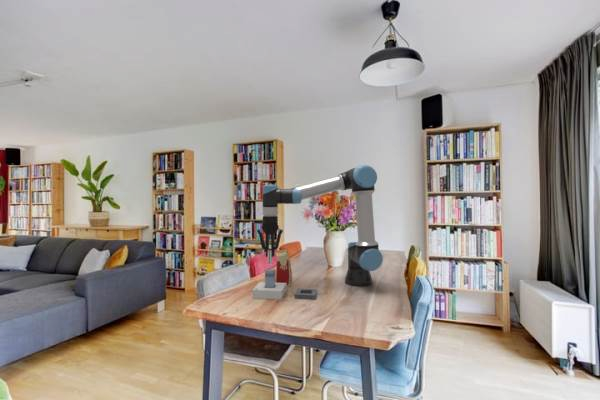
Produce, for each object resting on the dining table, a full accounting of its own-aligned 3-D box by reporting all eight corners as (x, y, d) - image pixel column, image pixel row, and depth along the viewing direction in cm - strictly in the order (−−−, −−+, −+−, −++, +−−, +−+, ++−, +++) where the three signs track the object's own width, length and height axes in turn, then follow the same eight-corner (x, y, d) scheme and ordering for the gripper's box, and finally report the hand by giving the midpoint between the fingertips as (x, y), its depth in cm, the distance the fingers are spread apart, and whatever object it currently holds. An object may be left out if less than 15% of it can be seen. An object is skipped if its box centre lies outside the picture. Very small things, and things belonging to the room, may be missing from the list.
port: (286, 290, 152) (286, 282, 152) (281, 299, 138) (281, 290, 138) (260, 289, 153) (260, 281, 153) (252, 298, 139) (252, 289, 139)
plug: (275, 293, 147) (275, 269, 147) (273, 295, 143) (273, 271, 143) (267, 293, 148) (267, 269, 148) (265, 295, 144) (265, 271, 144)
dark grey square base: (317, 293, 148) (317, 289, 148) (315, 299, 138) (315, 295, 138) (297, 292, 149) (297, 288, 149) (294, 298, 139) (294, 294, 139)
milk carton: (292, 282, 168) (292, 247, 168) (290, 286, 159) (290, 249, 159) (276, 281, 169) (276, 246, 169) (273, 286, 160) (273, 249, 160)
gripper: (284, 215, 149) (284, 262, 149) (258, 215, 150) (258, 261, 150) (282, 216, 141) (282, 265, 141) (254, 216, 143) (254, 264, 143)
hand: (270, 263), depth 146 cm, fingers closed
